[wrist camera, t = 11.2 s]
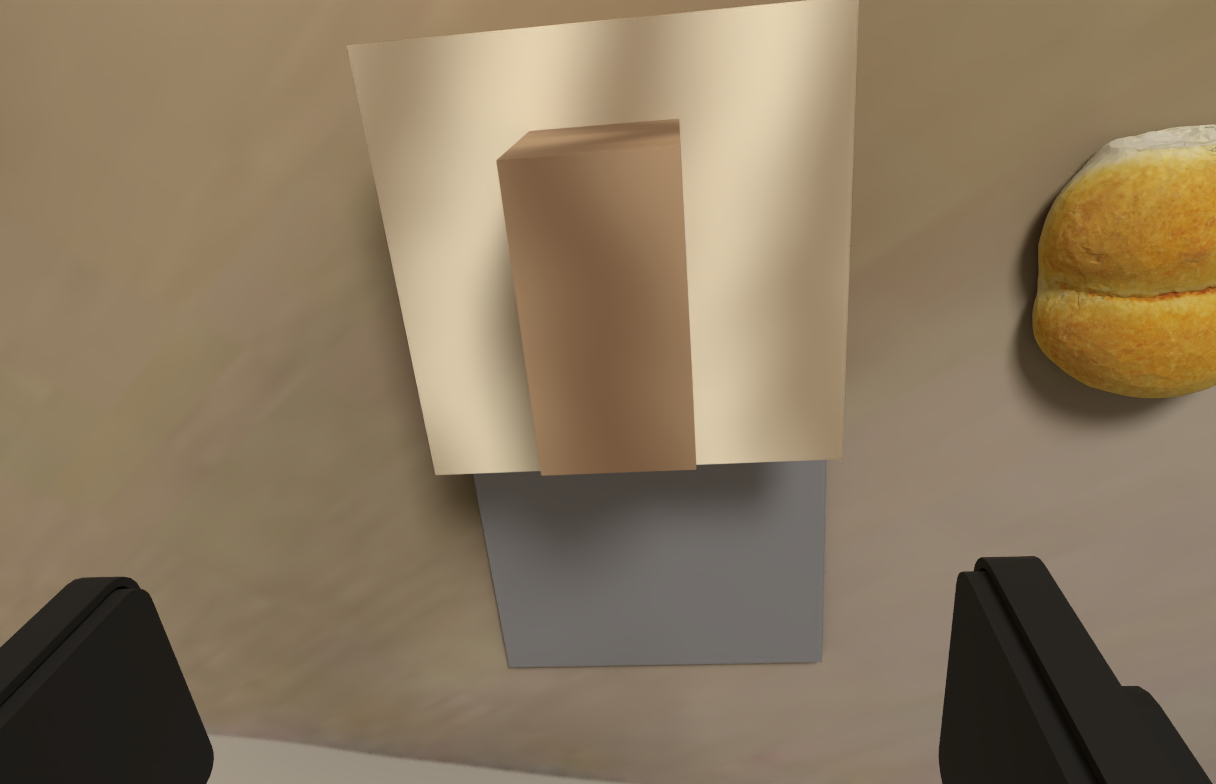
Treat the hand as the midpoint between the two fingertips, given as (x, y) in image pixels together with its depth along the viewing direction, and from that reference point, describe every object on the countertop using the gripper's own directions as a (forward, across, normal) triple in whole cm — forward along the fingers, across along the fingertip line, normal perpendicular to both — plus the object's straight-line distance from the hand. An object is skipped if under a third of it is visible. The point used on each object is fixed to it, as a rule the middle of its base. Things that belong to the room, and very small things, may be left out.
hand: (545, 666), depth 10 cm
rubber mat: (+22, 0, +13) cm, 25 cm away
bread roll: (+22, -17, +2) cm, 28 cm away
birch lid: (+16, 0, 0) cm, 17 cm away
